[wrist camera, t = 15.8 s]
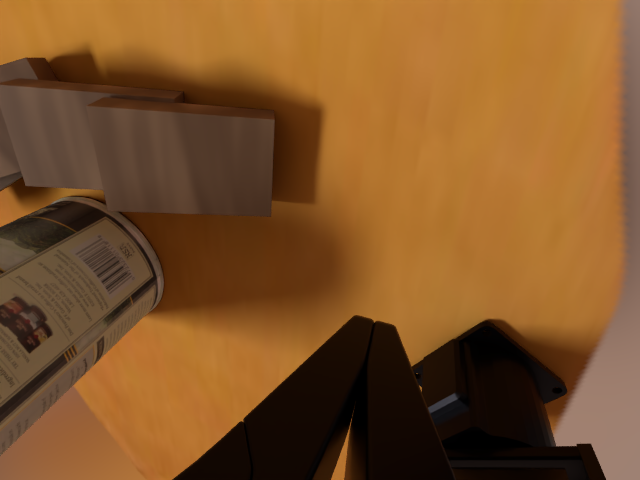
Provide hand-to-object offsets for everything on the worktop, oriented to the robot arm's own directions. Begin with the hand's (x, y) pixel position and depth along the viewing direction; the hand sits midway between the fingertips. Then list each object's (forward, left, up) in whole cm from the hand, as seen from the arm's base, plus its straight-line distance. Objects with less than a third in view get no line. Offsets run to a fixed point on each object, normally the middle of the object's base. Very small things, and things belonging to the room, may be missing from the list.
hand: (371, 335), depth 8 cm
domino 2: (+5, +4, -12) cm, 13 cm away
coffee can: (+11, +20, -13) cm, 26 cm away
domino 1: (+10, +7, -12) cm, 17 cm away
